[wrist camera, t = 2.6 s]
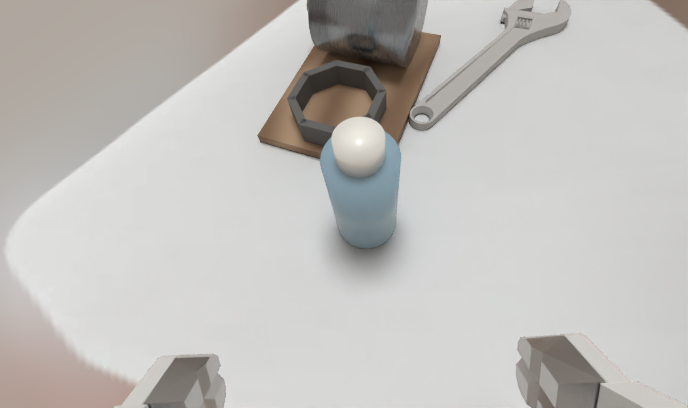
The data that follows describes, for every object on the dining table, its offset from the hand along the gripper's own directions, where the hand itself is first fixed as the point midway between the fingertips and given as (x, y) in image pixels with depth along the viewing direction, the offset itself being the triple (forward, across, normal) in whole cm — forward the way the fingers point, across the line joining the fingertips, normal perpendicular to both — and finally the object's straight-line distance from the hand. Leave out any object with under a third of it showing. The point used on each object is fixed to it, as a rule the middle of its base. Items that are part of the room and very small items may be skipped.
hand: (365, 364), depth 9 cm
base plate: (+33, 0, -8) cm, 34 cm away
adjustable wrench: (+35, -15, -10) cm, 40 cm away
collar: (+30, +2, -5) cm, 31 cm away
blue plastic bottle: (+21, 0, +4) cm, 22 cm away
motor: (+36, -2, -13) cm, 38 cm away
